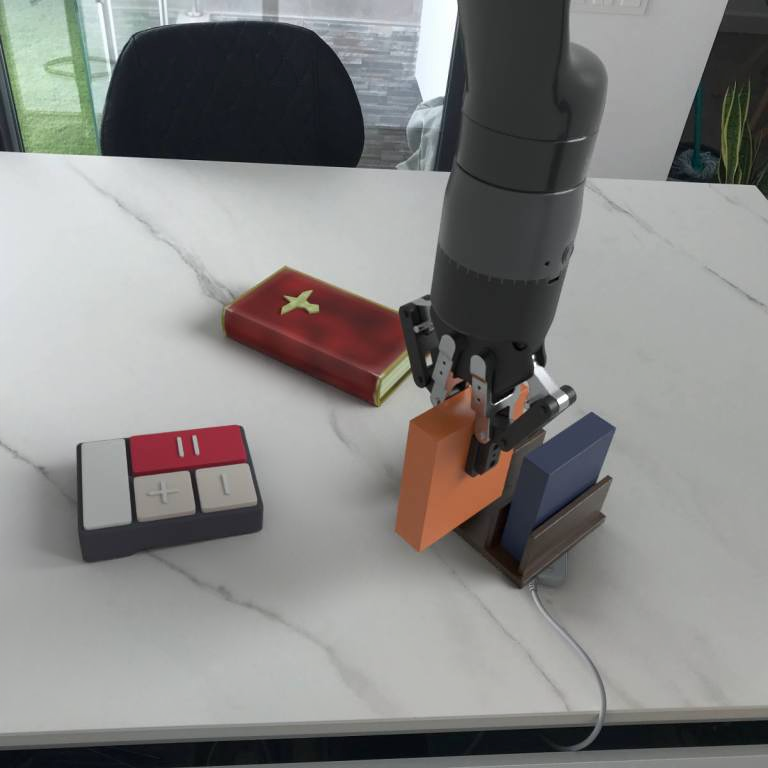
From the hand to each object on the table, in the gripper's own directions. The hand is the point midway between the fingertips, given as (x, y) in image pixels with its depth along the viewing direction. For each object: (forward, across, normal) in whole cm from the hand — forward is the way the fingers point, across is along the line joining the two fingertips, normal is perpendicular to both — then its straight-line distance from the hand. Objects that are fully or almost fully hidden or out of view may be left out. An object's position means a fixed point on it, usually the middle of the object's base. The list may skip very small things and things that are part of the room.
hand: (461, 456), depth 55 cm
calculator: (+16, -22, -12) cm, 30 cm away
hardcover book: (+16, -32, +14) cm, 39 cm away
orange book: (+6, 0, 0) cm, 6 cm away
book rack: (+16, -2, +12) cm, 20 cm away
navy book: (+15, +2, +12) cm, 19 cm away
